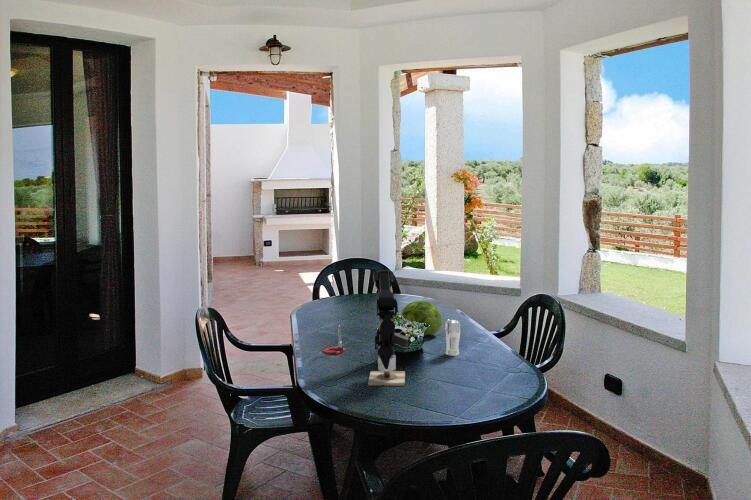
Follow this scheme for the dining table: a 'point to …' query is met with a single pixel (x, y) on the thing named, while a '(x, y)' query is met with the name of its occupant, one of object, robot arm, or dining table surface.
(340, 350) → the tow hook
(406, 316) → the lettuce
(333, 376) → the dining table surface
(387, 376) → the bronze post
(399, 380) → the birch base board
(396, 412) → the dining table surface
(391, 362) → the aluminium ring
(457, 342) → the beer glass
